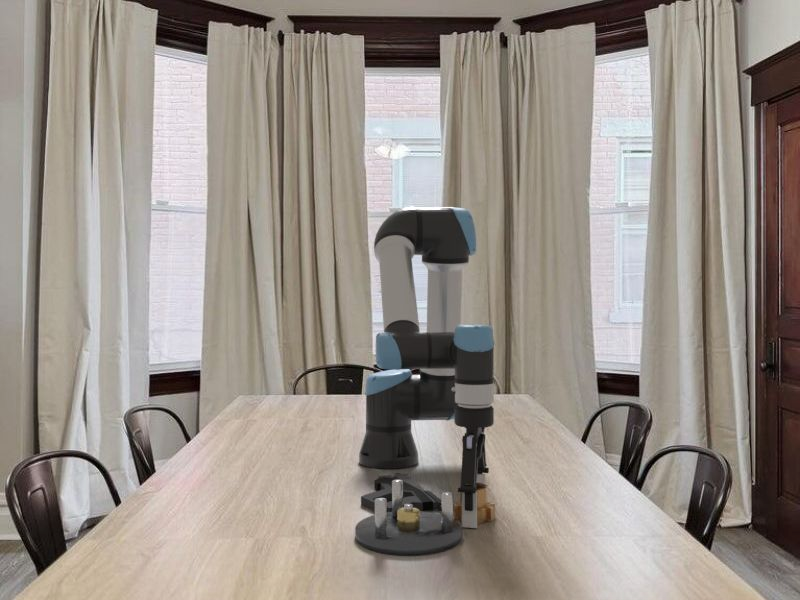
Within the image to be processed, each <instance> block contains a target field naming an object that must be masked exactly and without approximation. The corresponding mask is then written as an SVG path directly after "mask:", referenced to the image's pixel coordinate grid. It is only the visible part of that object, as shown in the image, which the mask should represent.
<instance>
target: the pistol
mask: <svg viewBox="0 0 800 600" xmlns="http://www.w3.org/2000/svg"><path fill="white" fill-rule="evenodd" d="M377 477H378V478H376V479H374V489H375V490H376V491H374V492H370V493H367V494H364V495H360V506H362V507H364V508H365V509H368V510H370V511H372V512H375V499H376V498H385V499H386V500H387V512H392V481H393V480H402V481H403V508H404V505H405V504H412V505H413V508H417V509H419V510H420V511H422V512H433V511H435V510H437V511H438V512H442V499H441V498H439V496H437V495H436V494H435V493H433V492H432V491H430V490H426V489H424V487H422V486H421V485H420V484H419V482H417V481H415V480H414V478H412V477H411V476H410V475H409V474H408V473H400V472H396V473H394V474H393V475H392V474H386V475H377Z"/></svg>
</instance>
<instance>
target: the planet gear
mask: <svg viewBox="0 0 800 600" xmlns="http://www.w3.org/2000/svg"><path fill="white" fill-rule="evenodd" d="M466 485H471V484H466ZM488 486H489V485H487V484H486V483H485V484H482V483H476V492H477V525H482V524H483V522H490V523H492V522H493V521H494V520H495V517H496V513H495V512H496V511H495V510H496V509H495V507H496V504H495V503H494V502H488V495H489V494H488V493H489V491H488V490H489V489H488ZM460 487H461V485H460ZM460 487H459V488H460ZM459 493H460V495H459V497H460V498H459V499H460V500H458V499H457V500H455V501H454V503H453V519H454V520H460V523H462V492H459Z"/></svg>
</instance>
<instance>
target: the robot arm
mask: <svg viewBox="0 0 800 600" xmlns="http://www.w3.org/2000/svg"><path fill="white" fill-rule="evenodd" d="M373 243H374V244H373V252H374V256H375V257H374V258H375V260H377V262H378V263H379V264H378V265H379V277H380V292H381V306H382V321H383V324H382V325H383V332H378V333H377V334H376V336H375V364H376V366H377V368H379V369H384V370H381V371H378V372H374V373H371V374H370V375H368V376H367V378H366V382H365V391H364V395H365V433H364V437H363V440H362V443H361V446H360V449H359V453H358V463H359V464H360V465H362V466H365V467H367V468H373V469H389V470H390V469H403V468H409V467H412V466H415V465H417V464H418V463H419V451H418V449H417V444H416V442H415V439H414V436H413V432H412V421H447V422H449V421H451V420H452V421H453V420H454V424H455V425H456V426H458V427H460V428H464V429H465V432H464V435H463V436H462V437H461V438H462V439H461V442H462V457H461V471H460V477H461V478H460V486H461V487H457V493H460V492H462V522H461V527H462V528H467V529H468V528H469V529H470V528H471V529H477V528H478V524H477V492H476V483H482V484H485V485H486V474H489V471H490V469H489V467H487V466H488V465H487V457H486V433H485V429H486V428H490V427H492V426H494V420H495V419H494V417H495V416H494V414H495V412H494V410H495V408H494V407H493V403H495V382H494V359H495V358H494V353H495V352H494V348H495V347H494V346H495V339H494V329H493V327H492V326H491V325H489V324H476V323H475V324H473V323H471V324H470V323H469V324H462V294H463V293H462V291H463V289H462V288H463V287H462V286H463V269H464V268H465V267H466V266H467V265H468V264H469V262H470V261H469V259H470V256H475V254H476V251H477V235H476V228H475V222H474V219H473V215H472V213H471V212H470V211H469V210H468V209H467V208H464V207H453V206H449V207H448V206H445V207H444V206H443V207H442V206H441V207H439V206H434V207H430V206H429V207H425V206H421V207H417V206H416V207H415V206H409V207H404V208H400V209H398V210H397V211H394V212H392V214H390V215H389V216H388V217H387V218H386V219H385V220H384V221H383V222H382V224H381V225H380V226H379V228H378V230H377V232H376V234H375V237H374V242H373ZM414 256H421V263H422V264H423V265H424V266H425V267H426V268H427V289H426V290H427V294H426V295H427V296H426V297H427V298H426V299H427V300H426V301H427V302H426V304H427V305H426V332H424V331H423V332H422V331H421V332H420V322H419V313H418V303H417V295H416V286H415V278H414V271H413V261H412V259H413V258H414ZM411 370H419V374H413V372H412V371H411ZM466 484H471V485H466Z"/></svg>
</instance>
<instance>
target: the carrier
mask: <svg viewBox="0 0 800 600" xmlns="http://www.w3.org/2000/svg"><path fill="white" fill-rule="evenodd" d="M441 500H442V505H441V508H442V511H441V514H440V513H435V512H431V511H420V510H419V509H417V508H413V505H412V504H405V505H404V508H403V481H402V480H393V481H392V512H387V500H386V499H385V498H376V499H375V511H374V514H372V515H369V516H368V517H365V518H363V519H361V520H359V521H358V523H357V524H356V525H355V529H354V530H355V531H354V538H355V542H357V544H358V545H360V546H361V547H362V548H365V549H366V550H369V551H371V552H375V553H379V554H384V555H389V556H391V555H392V556H403V557H404V556H406V557H413V556H414V557H415V556H425V555H426V556H429V555H433V554H438V553H442V552H445V551H448V550H451V549H453V548H454V547H457V545H459V544H460V543H461V541H462V540H463V527H462V524H461V523H460V522H459V521H457V519H454V518H453V504H454V492H450V491H443V492H441Z"/></svg>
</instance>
